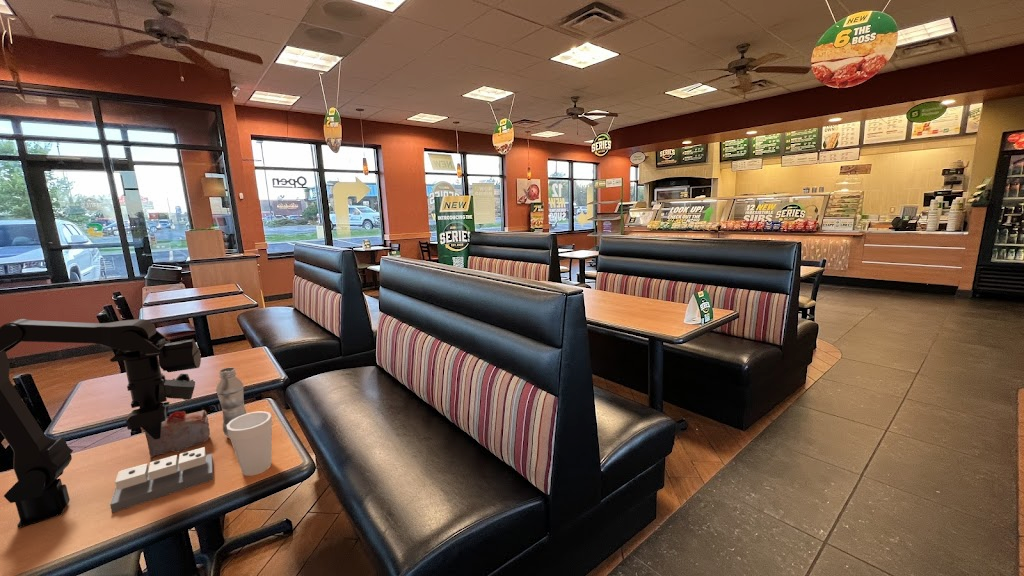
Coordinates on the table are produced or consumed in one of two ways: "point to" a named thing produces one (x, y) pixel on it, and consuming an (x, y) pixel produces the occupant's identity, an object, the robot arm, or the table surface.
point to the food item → (180, 432)
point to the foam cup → (252, 441)
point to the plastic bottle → (230, 396)
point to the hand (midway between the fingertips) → (157, 438)
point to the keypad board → (162, 485)
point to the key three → (192, 458)
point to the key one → (132, 476)
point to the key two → (163, 467)
